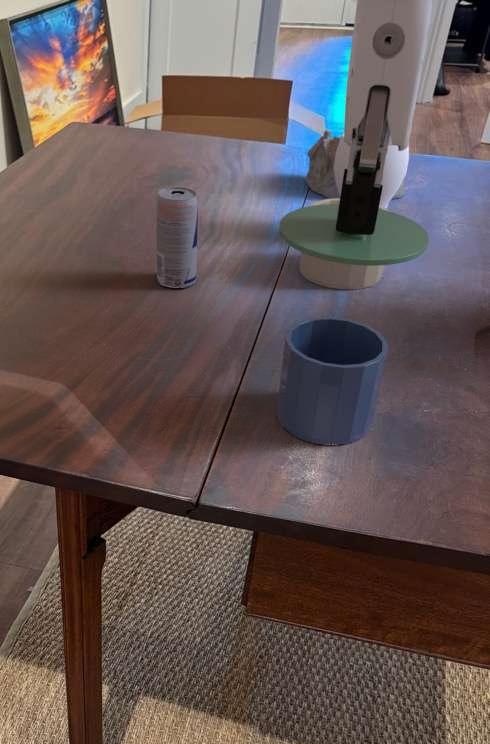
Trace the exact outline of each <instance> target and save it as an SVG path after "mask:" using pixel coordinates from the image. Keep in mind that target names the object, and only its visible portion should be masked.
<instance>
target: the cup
mask: <svg viewBox="0 0 490 744" xmlns="http://www.w3.org/2000/svg"><path fill="white" fill-rule="evenodd" d="M340 137H341V139H340V142H339V145H338V147H337V150H336V155H335V162H334V174H335V182H336V185H337V188H338V191H339V194H340V196H341V189H342V183H343V176H344V170H345V169H348V163H349V157H350V150H351V146H348V145H347V144H346V142H345V141H344V132H343V133H341V136H340ZM362 142H363V141H362ZM351 144H352V141H351ZM409 161H410V143H409V144H408V147H407V148H406V149H404V150H403V151H398V146H393V145H392V140H391V135H390V137H389V142H388V151H387V153H386V158H385V164H384V169H383V176H382V181H381V185H383V188H382V194H381V199H380V204H379V205H380V206H382V207H385V208H387V209H388V207H389V204H390V201H392V200H393V199H392V197H393V196H394V194H395V193H396V192H397V190H398V189H399V187H400V185H401V183H402V181H404V179H405V177H406V175H407V171H408V167H409Z"/></svg>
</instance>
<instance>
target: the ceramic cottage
mask: <svg viewBox="0 0 490 744" xmlns="http://www.w3.org/2000/svg"><path fill="white" fill-rule="evenodd" d="M340 139H341V136H340V137H339V136H333V138H332V132H331V130H329V129H325V130H324V132H323V136H320V138H319V139H318V140H317V142H315V144H314V145H312V146H311V147H310V148H309V150H308V151H307V156H308V158H309V160H308V161H309V162H308V172H307V173H306V176H305V178H304V182H305V183H306V185H307V186H308V187H309V189H310V191H313V192H315V193H316V194H318V195H321V196H323V197H326V198H327V199H333V198H340V194H339V191H338V188H337V185H336V182H335V174H334V162H335V155H336V150H337V147H338V145H339V142H340ZM404 196H405V181H404V180H403V181H402V183H401V185H400V187H399V189H398V190H397V192H396V193H395V194H394V196H393V197H392V199H391V200H396V199H398V198H403V197H404Z"/></svg>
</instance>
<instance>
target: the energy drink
mask: <svg viewBox="0 0 490 744" xmlns="http://www.w3.org/2000/svg"><path fill="white" fill-rule="evenodd" d="M155 199H156V201H155V204H156V207H155V208H156V210H155V211H156V278H157V279H158V280H157V279H156V280H157V282H158V281H159V282H161V283H162V284H164V285H167V286H171V287H179V288H181V287H187V286H190V287H192V286H193V285H194V284H195V283H196V282H197V264H198V263H197V262H198V261H197V260H198V259H197V258H198V225H199V223H198V219H199V199H198V195H197V192H196V191H195V190H194V189H192V188H189V187H183V186H170V187H164V188H161V189H159V190H158V191H157V197H156V198H155ZM159 282H158V283H159ZM192 284H193V285H192ZM191 285H192V286H191Z"/></svg>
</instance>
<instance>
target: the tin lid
mask: <svg viewBox="0 0 490 744" xmlns="http://www.w3.org/2000/svg"><path fill="white" fill-rule="evenodd" d="M347 172H348V170H347ZM354 172H355V170H354ZM353 176H354V175H353ZM346 178H347V176H346ZM338 209H339V204H324V205H314V206H309V205H307V206H305V207H299V208H297V209H294V210H292V211H290V212H288V213H287V214H285V215H283V217H282V218H281V219H280V221H279V224H278V233H279V236H280V237H281V239H282V240H283V241H284V243H286V244H287V246H289V247H291V248H293V249H294V250H296V251H298V252H300V253H301V252H302V253H305V254H307V255H310V256H313V257H316V258H319V259H323V260H327V261H332V262H337V263H343V264H351V265H367V266H377V265H384V266H391V265H397V264H402V263H405V262H409V261H412V260H415V259H417V258H419V257H420V256H422V255H424V253H425V252H426V251H427V249H428V247H429V243H430V236H429V233H428V232H427V230H426V229H425V228H424V227H423V226H422V225H420V224H419V223H417V222H416V221H414V220H413V219H410V218H409V217H406V216H404V215H401V214H399V213H396V212H393V211H390V210H389V211H386V210H382V209H378V215H377V220H376V225H375V230H374V233H373V234H372V235H363V234H354V233H344V232H338V231H337V230H336V222H337V216H338Z"/></svg>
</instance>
